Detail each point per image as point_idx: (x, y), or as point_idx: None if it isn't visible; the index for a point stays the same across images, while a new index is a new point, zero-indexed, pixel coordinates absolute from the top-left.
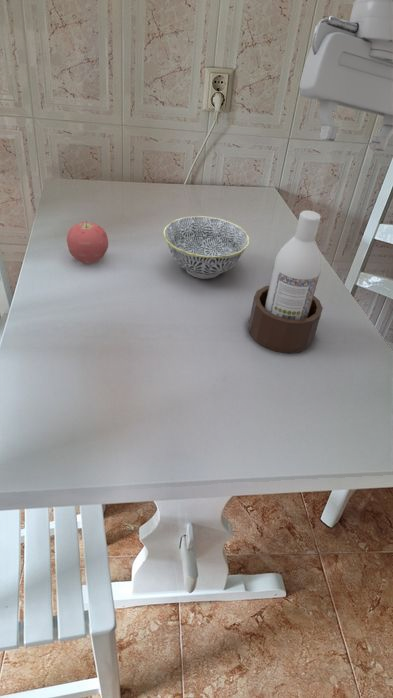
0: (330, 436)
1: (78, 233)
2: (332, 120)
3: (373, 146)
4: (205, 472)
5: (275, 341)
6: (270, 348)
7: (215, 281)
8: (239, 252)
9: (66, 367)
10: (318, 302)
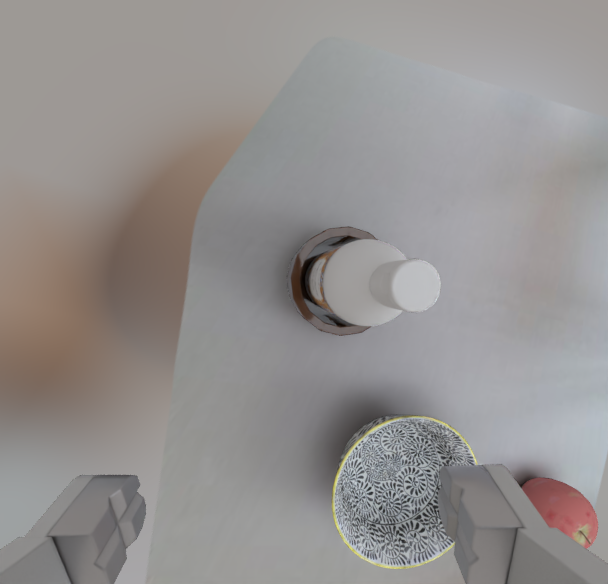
0: (361, 91)
1: (592, 514)
2: (565, 561)
3: (136, 509)
4: (501, 91)
5: None
6: None
7: (373, 418)
8: (374, 427)
9: (588, 270)
10: (295, 272)
